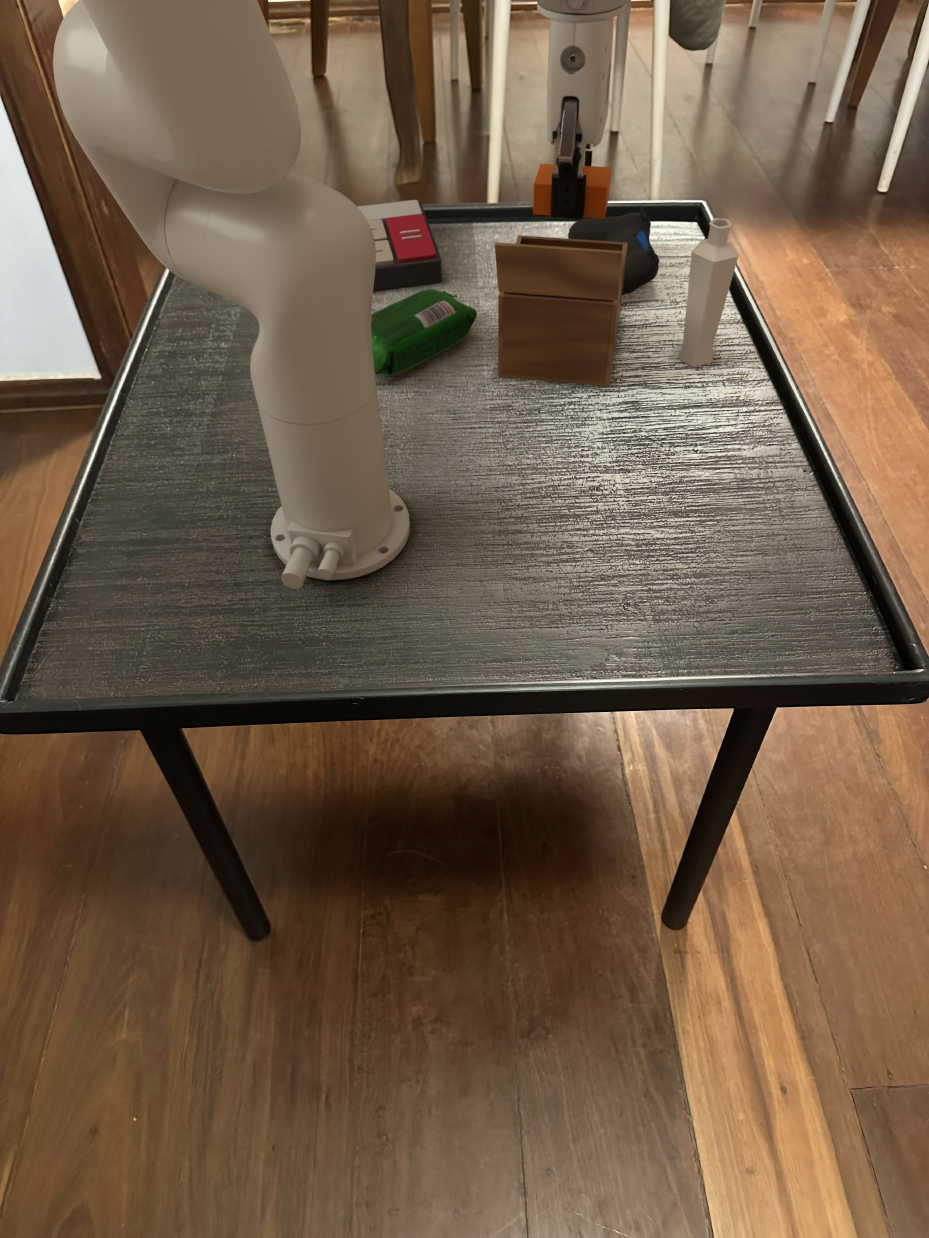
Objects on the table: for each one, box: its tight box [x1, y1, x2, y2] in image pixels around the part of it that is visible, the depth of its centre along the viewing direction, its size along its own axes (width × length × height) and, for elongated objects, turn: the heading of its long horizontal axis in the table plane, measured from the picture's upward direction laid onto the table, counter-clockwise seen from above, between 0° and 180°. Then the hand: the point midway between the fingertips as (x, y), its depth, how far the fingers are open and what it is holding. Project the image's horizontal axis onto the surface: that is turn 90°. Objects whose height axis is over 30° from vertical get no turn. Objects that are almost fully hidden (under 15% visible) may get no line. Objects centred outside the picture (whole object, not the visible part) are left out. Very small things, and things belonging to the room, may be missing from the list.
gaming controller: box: [567, 205, 660, 296], centre depth 111 cm, size 17×6×10 cm
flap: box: [494, 242, 622, 301], centre depth 88 cm, size 6×12×1 cm
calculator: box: [357, 199, 443, 292], centre depth 116 cm, size 11×4×15 cm
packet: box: [532, 163, 612, 219], centre depth 90 cm, size 4×7×3 cm, turn 79°
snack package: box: [371, 288, 478, 377], centre depth 101 cm, size 7×16×5 cm, turn 131°
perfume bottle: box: [676, 217, 740, 368], centre depth 95 cm, size 5×4×15 cm
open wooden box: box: [497, 234, 628, 387], centre depth 99 cm, size 13×12×10 cm
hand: (570, 202), depth 91 cm, fingers closed on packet, 4 cm apart
